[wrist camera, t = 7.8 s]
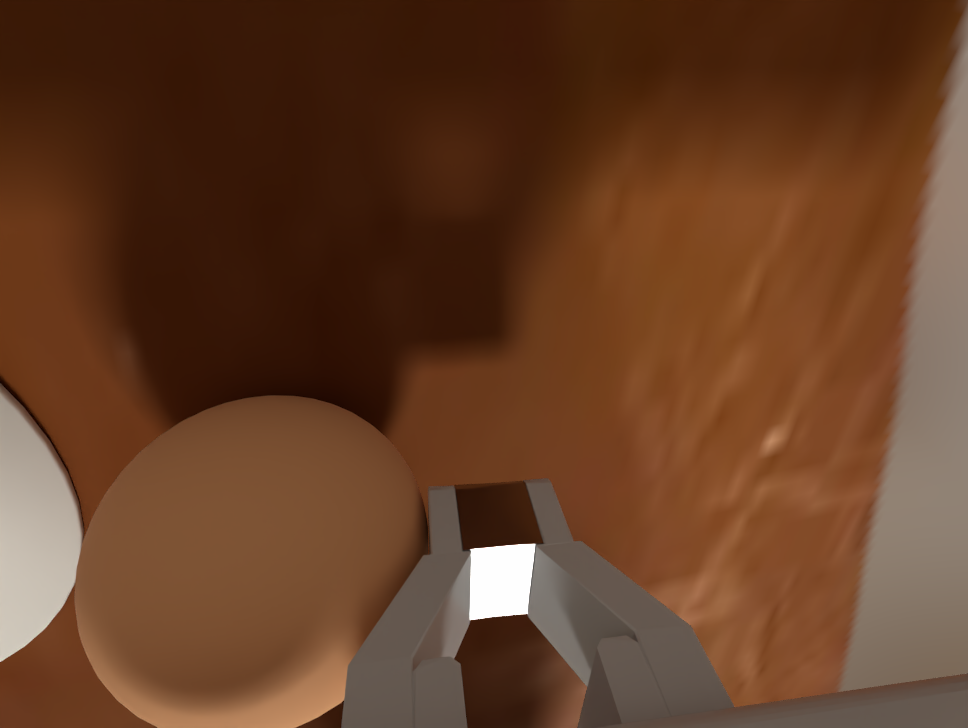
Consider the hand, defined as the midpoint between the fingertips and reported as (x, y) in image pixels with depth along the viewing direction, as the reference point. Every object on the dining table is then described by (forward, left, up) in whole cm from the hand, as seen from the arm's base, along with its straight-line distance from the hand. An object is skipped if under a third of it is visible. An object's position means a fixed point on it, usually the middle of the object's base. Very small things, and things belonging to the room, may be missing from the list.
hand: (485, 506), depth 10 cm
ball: (-4, 0, 0) cm, 4 cm away
